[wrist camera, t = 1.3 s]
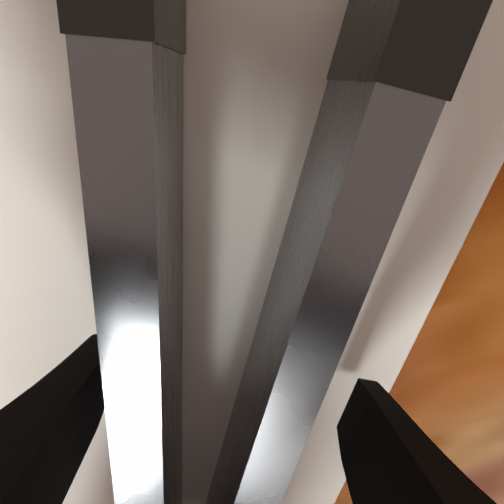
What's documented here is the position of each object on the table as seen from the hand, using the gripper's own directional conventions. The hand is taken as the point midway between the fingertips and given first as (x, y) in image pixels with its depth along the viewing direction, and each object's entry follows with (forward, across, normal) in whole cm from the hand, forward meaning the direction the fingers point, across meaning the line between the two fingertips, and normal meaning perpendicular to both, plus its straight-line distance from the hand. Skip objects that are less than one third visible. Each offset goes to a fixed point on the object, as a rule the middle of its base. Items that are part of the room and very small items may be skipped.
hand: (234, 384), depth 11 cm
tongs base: (+1, 0, 0) cm, 1 cm away
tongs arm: (+1, +2, -1) cm, 3 cm away
